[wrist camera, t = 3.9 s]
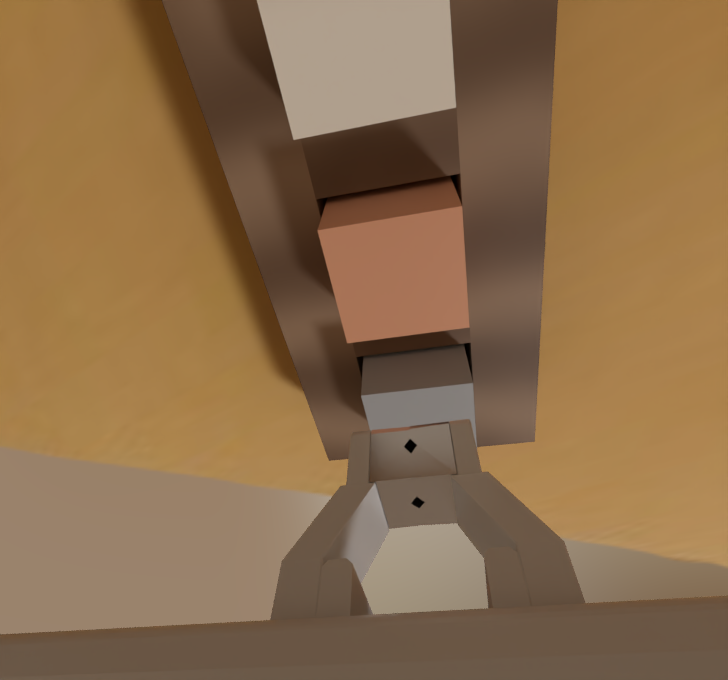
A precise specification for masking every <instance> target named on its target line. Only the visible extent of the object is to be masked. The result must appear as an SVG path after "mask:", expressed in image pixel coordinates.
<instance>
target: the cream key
mask: <svg viewBox="0 0 728 680" xmlns="http://www.w3.org/2000/svg"><path fill="white" fill-rule="evenodd" d="M257 3H258V7H259V11H260V15H261V18H262V22H263V26H264V30H265V34H266V37H267V41H268V45H269V49H270V52H271V56H272V60H273V64H274V68H275V71H276V75H277V79H278V83H279V87H280V90H281V94H282V98H283V102H284V106H285V109H286V113H287V117H288V121H289V125H290V128H291V132H292V136H293V140H296V139H301V138H306V137H311V136H316V135H321V134H326V133H331V132H336V131H341V130H346V129H351V128H356V127H361V126H366V125H371V124H376V123H381V122H386V121H392V120H397V119H402V118H407V117H412V116H417V115H422V114H427V113H432V112H437V111H442V110H447V109H452V108H456V97H455V81H454V64H453V48H452V32H451V15H450V0H257Z"/></svg>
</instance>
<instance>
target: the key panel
mask: <svg viewBox="0 0 728 680" xmlns="http://www.w3.org/2000/svg"><path fill="white" fill-rule="evenodd" d="M162 3H163V5H164V8H165V11H166V14H167V16H168V19H169V22H170V25H171V27H172V30H173V33H174V36H175V38H176V41H177V44H178V47H179V49H180V52H181V55H182V58H183V60H184V63H185V66H186V69H187V71H188V74H189V77H190V80H191V82H192V85H193V88H194V91H195V93H196V96H197V99H198V102H199V104H200V107H201V110H202V113H203V115H204V118H205V121H206V124H207V126H208V129H209V132H210V135H211V137H212V140H213V143H214V146H215V148H216V151H217V154H218V157H219V159H220V162H221V165H222V168H223V170H224V173H225V176H226V179H227V181H228V184H229V187H230V190H231V192H232V195H233V198H234V201H235V203H236V206H237V209H238V212H239V214H240V217H241V220H242V223H243V225H244V228H245V231H246V234H247V236H248V239H249V242H250V245H251V247H252V250H253V253H254V256H255V258H256V261H257V264H258V267H259V269H260V272H261V275H262V278H263V280H264V283H265V286H266V289H267V291H268V294H269V297H270V300H271V302H272V305H273V308H274V311H275V313H276V316H277V319H278V322H279V324H280V327H281V330H282V333H283V335H284V338H285V341H286V344H287V346H288V349H289V352H290V355H291V357H292V360H293V363H294V366H295V368H296V371H297V374H298V377H299V379H300V382H301V385H302V388H303V390H304V393H305V396H306V399H307V401H308V404H309V407H310V410H311V412H312V415H313V418H314V421H315V423H316V426H317V429H318V432H319V434H320V437H321V440H322V443H323V445H324V448H325V451H326V454H327V456H328V459H329V461H330V460H341V459H349V448H350V437H351V434H352V432H359V431H370V428H369V424H368V420H367V416H366V413H365V409H364V405H363V401H362V398H361V388H362V372H363V356H368V355H376V354H384V353H392V352H400V351H408V350H416V349H424V348H432V347H440V346H448V345H456V344H464V347H465V351H466V356H467V360H468V364H469V368H470V373H471V377H472V381H473V391H474V408H475V424H476V440H477V447H481V446H492V445H502V444H513V443H524V442H535V423H536V404H537V385H538V366H539V347H540V328H541V309H542V290H543V270H544V251H545V232H546V213H547V194H548V175H549V156H550V137H551V118H552V98H553V79H554V60H555V41H556V22H557V3H558V0H450V15H451V32H452V48H453V64H454V81H455V97H456V108H452V109H447V110H442V111H437V112H432V113H427V114H422V115H417V116H412V117H407V118H402V119H397V120H392V121H386V122H381V123H376V124H371V125H366V126H361V127H356V128H351V129H346V130H341V131H336V132H331V133H326V134H321V135H316V136H311V137H306V138H301V139H296V140H293V136H292V132H291V128H290V125H289V121H288V117H287V113H286V109H285V106H284V102H283V98H282V94H281V90H280V87H279V83H278V79H277V75H276V71H275V68H274V64H273V60H272V56H271V52H270V49H269V45H268V41H267V37H266V34H265V30H264V26H263V22H262V18H261V15H260V11H259V7H258V3H257V0H162ZM449 175H450V177H451V179H452V182H453V184H454V187H455V189H456V192H457V194H458V197H459V199H460V202H461V204H462V212H463V228H464V244H465V261H466V277H467V293H468V310H469V326H470V327H469V328H462V329H454V330H446V331H439V332H431V333H423V334H415V335H408V336H400V337H392V338H385V339H377V340H369V341H362V342H354V343H347V341H346V337H345V333H344V329H343V325H342V322H341V318H340V314H339V310H338V307H337V303H336V299H335V295H334V291H333V288H332V284H331V280H330V276H329V272H328V269H327V265H326V261H325V257H324V253H323V250H322V246H321V242H320V238H319V234H318V231H317V230H318V227H319V224H320V221H321V217H322V214H323V211H324V208H325V204H326V201H327V198H328V197H332V196H337V195H343V194H349V193H354V192H360V191H365V190H371V189H376V188H382V187H388V186H393V185H399V184H404V183H410V182H416V181H421V180H427V179H432V178H438V177H444V176H449Z"/></svg>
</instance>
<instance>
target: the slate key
mask: <svg viewBox="0 0 728 680" xmlns="http://www.w3.org/2000/svg"><path fill="white" fill-rule="evenodd" d="M361 398H362V401H363V405H364V409H365V413H366V416H367V420H368V424H369V428H370V430H377V429H388V428H400V427H410V426H415V425H423V424H431V423H439V422H447V421H448V422H449V421H456V420H464V419H469V420H470V421H471V425H472V430H473V434H474V439H475V443H476V448H477V440H476V424H475V408H474V391H473V381H472V377H471V373H470V368H469V364H468V360H467V356H466V351H465V347H464V344H456V345H448V346H440V347H432V348H424V349H416V350H408V351H400V352H392V353H384V354H376V355H368V356H363V372H362V388H361Z"/></svg>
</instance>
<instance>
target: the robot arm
mask: <svg viewBox="0 0 728 680" xmlns="http://www.w3.org/2000/svg"><path fill="white" fill-rule="evenodd" d="M450 523H458V525H459V527H460V528H461V529H462V531H463V532H464V533H465V535H466V536H467V537H468V538H469V540H470V541H471V542H472V543H473V545H474V546H475V547H476V549H477V550H478V551H479V552H480V554H481V555H482V556H483V558H484V562H485V574H486V584H487V596H488V609H469V610H452V611H451V610H450V611H431V612H413V613H395V614H376V615H373V613H372V611H371V608H370V606H369V603H368V601H367V598H366V596H365V593H364V591H363V588H362V586H361V582H362V581H363V579H364V577H365V575H366V573H367V571H368V569H369V567H370V566H371V564H372V562H373V560H374V558H375V556H376V555H377V553H378V551H379V549H380V547H381V545H382V543H383V542H384V540H385V538H386V536H387V534H388V532H389V529H390V528H400V527H408V526H418V525H432V524H450ZM0 680H728V596H713V597H694V598H675V599H657V600H639V601H619V602H601V603H585V600H584V598H583V595H582V592H581V589H580V586H579V583H578V580H577V577H576V575H575V572H574V569H573V566H572V563H571V560H570V557H569V554H568V551H567V549H566V546H565V543H564V541H563V540H562V539H561V538H560V537H559V536H558V535H557V534H555V533H554V532H553V531H552V530H551V529H550V528H549V527H548V526H547V525H546V524H545V523H543V522H542V521H541V520H540V519H539V518H538V517H537V516H536V515H535V514H534V513H533V512H531V511H530V510H529V509H528V508H527V507H526V506H525V505H524V504H523V503H522V502H521V501H519V500H518V499H517V498H516V497H515V496H514V495H513V494H512V493H511V492H510V491H509V490H507V489H506V488H505V487H504V486H503V485H502V484H501V483H500V482H499V481H498V480H497V479H495V478H494V477H493V476H492V475H491V474H490V473H489V472H482V471H481V466H480V462H479V457H478V452H477V448H476V443H475V439H474V434H473V430H472V425H471V421H470V420H469V419H464V420H456V421H449V422H448V421H447V422H439V423H431V424H423V425H415V426H410V427H400V428H388V429H377V430H370V431H359V432H352V434H351V437H350V448H349V460H348V471H347V483H346V485H344V486H340V487H339V489H338V490H337V491H336V493H335V494H334V495H333V496H332V498H331V499H330V500H329V502H328V503H327V504H326V505H325V507H324V508H323V509H322V510H321V512H320V513H319V514H318V516H317V517H316V518H315V519H314V521H313V522H312V523H311V525H310V526H309V527H308V528H307V530H306V531H305V532H304V534H303V535H302V536H301V538H300V539H299V540H298V541H297V542H296V544H295V545H294V546H293V548H292V549H291V550H290V551H289V553H288V554H287V555H286V557H285V558H284V559H283V560H282V563H281V568H280V574H279V579H278V584H277V589H276V594H275V599H274V604H273V609H272V614H271V619H270V620H266V621H246V622H230V623H229V622H227V623H211V624H191V625H172V626H153V627H134V628H115V629H96V630H77V631H58V632H39V633H21V634H2V635H1V634H0Z"/></svg>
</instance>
